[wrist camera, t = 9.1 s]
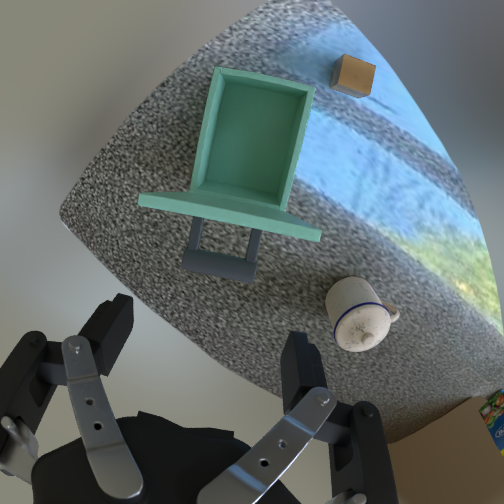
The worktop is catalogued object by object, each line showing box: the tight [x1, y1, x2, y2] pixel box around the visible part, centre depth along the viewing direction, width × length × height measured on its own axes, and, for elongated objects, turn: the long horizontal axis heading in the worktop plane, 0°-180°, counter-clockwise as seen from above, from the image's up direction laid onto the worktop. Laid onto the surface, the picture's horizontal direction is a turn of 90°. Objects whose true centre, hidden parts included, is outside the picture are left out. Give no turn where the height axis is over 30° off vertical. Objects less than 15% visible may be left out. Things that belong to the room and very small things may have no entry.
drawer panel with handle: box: [138, 192, 321, 284], centre depth 26 cm, size 16×12×5 cm
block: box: [329, 54, 376, 98], centre depth 31 cm, size 4×4×4 cm
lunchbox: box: [189, 66, 316, 211], centre depth 34 cm, size 16×12×7 cm
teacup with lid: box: [325, 277, 399, 352], centre depth 42 cm, size 12×9×12 cm
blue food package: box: [479, 390, 504, 455], centre depth 56 cm, size 6×12×25 cm, turn 148°
